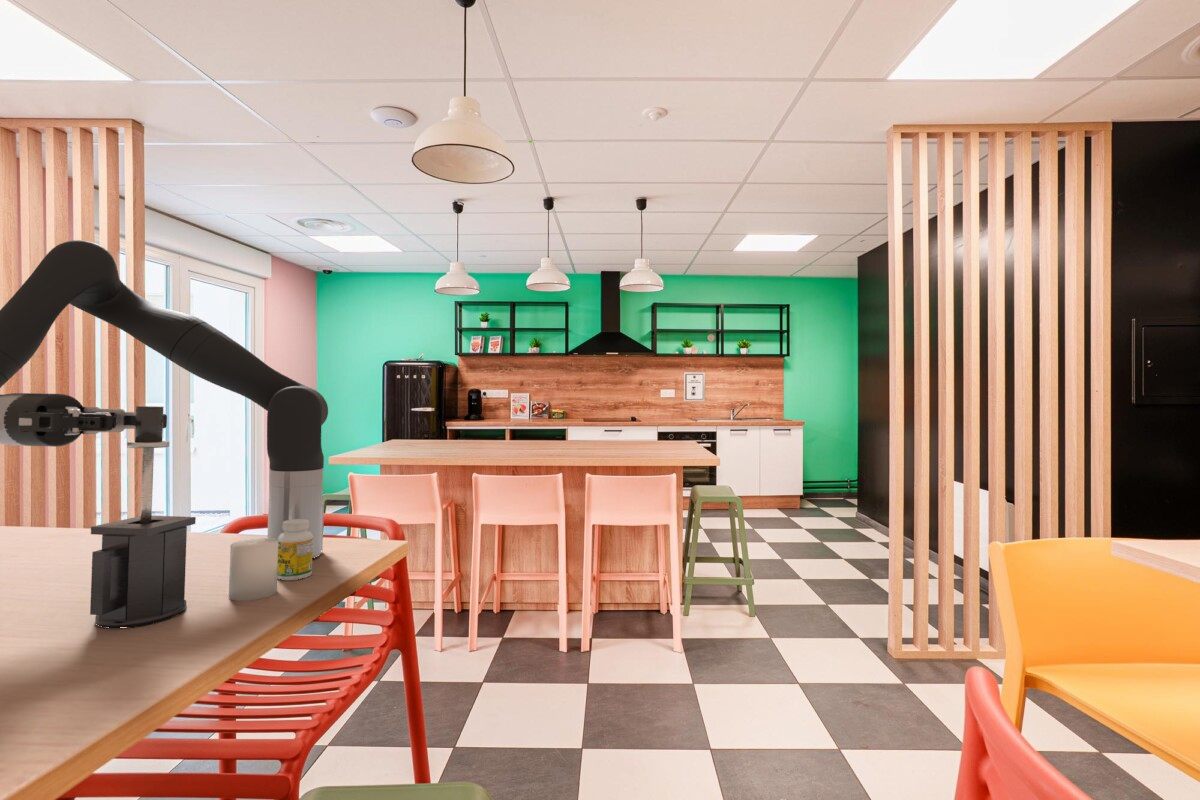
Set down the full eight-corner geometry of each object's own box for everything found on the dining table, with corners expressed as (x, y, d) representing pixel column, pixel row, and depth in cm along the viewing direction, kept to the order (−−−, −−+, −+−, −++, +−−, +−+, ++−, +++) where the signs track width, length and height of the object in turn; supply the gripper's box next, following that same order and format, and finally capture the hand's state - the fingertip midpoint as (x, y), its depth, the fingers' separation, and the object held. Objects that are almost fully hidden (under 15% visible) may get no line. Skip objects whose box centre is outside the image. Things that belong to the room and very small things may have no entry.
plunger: (143, 551, 79) (148, 406, 80) (173, 552, 79) (178, 406, 80) (113, 559, 75) (119, 406, 75) (145, 561, 75) (151, 406, 75)
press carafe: (140, 600, 82) (143, 513, 82) (203, 603, 82) (206, 516, 82) (59, 632, 70) (63, 531, 71) (131, 636, 70) (135, 534, 70)
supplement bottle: (318, 575, 96) (320, 520, 96) (288, 583, 92) (290, 525, 92) (299, 570, 99) (301, 516, 99) (269, 577, 94) (271, 521, 94)
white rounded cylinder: (247, 586, 90) (249, 537, 90) (285, 587, 89) (287, 538, 90) (218, 599, 83) (220, 547, 83) (259, 601, 83) (260, 548, 83)
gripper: (-28, 391, 71) (90, 394, 70) (82, 394, 86) (181, 396, 85) (-30, 449, 71) (88, 452, 70) (80, 442, 85) (180, 445, 84)
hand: (139, 421), depth 77 cm, fingers open, 8 cm apart
